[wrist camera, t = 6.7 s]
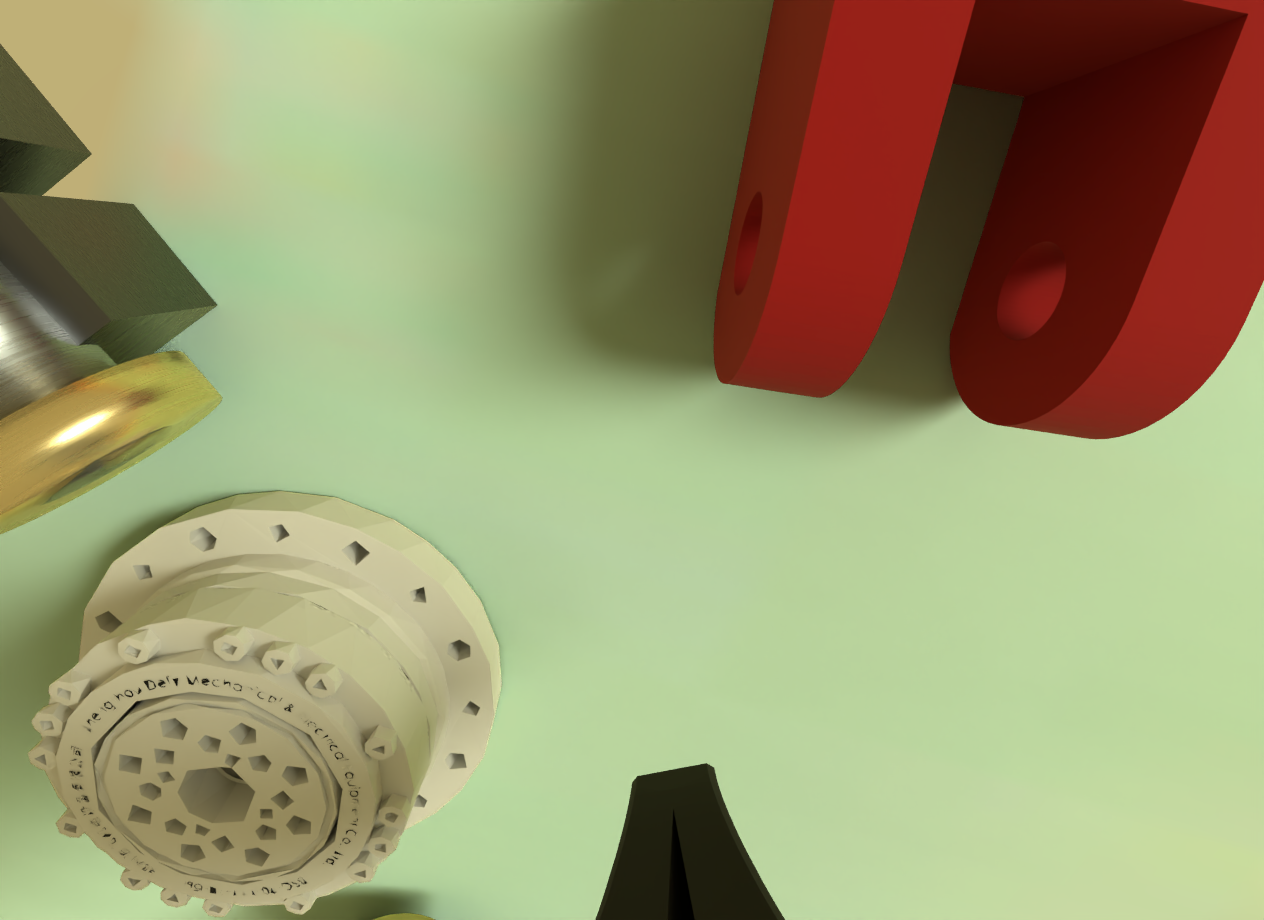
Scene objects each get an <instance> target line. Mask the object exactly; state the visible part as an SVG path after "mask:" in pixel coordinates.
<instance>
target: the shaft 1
mask: <svg viewBox="0 0 1264 920" xmlns="http://www.w3.org/2000/svg"><path fill="white" fill-rule="evenodd" d="M90 155H91V153H90V151H89V150H88V149H87V148H86V147H85V145H84V144H83V143H82V142H81V141H80V139H79V138H78V137H77V136H76V134H75V133H74V132H73V131H72V130H71V128H70V127H69V126H68V125H67V124H66V122H65V121H64V120H63V119H62V118H61V116H60V115H59V114H58V113H57V112H56V110H55V109H54V108H53V107H52V106H51V104H50V103H49V102H48V101H47V100H46V98H45V97H44V96H43V95H42V94H41V92H40V91H39V90H38V89H37V88H36V86H35V85H34V84H33V83H32V81H31V80H30V79H29V78H28V77H27V75H26V74H25V73H24V72H23V71H22V69H21V68H20V67H19V66H18V65H17V64H16V62H15V61H14V60H13V59H12V57H11V56H10V55H9V54H8V53H7V51H6V50H5V49H4V48H3V47H2V45H1V44H0V534H3V533H5V532H7V531H10V530H12V529H14V528H17V527H19V526H21V525H23V524H26V523H28V522H30V521H32V520H34V519H36V518H38V517H40V516H42V515H44V514H46V513H48V512H50V511H52V510H54V509H56V508H58V507H60V506H62V505H64V504H66V503H68V502H70V501H71V500H73V499H75V498H77V497H79V496H81V495H83V494H85V493H86V492H88V491H90V490H92V489H94V488H95V487H97V486H99V485H101V484H102V483H104V482H106V481H108V480H110V479H111V478H113V477H115V476H116V475H118V474H120V473H122V472H123V471H125V470H127V469H128V468H130V467H132V466H133V465H135V464H137V463H138V462H140V461H142V460H143V459H145V458H146V457H148V456H150V455H151V454H153V453H154V452H156V451H157V450H159V449H161V448H162V447H164V446H165V445H167V444H168V443H170V442H171V441H173V440H174V439H176V438H177V437H179V436H180V435H182V434H183V433H184V432H186V431H187V430H189V429H190V428H191V427H193V426H194V425H196V424H197V423H198V422H199V421H201V420H202V419H203V418H205V417H206V416H207V415H208V414H209V413H211V412H212V411H213V410H214V409H215V408H216V407H217V406H218V405H219V404H220V402H221V401H222V396H221V395H220V394H219V393H218V392H217V390H216V389H215V388H214V387H213V386H212V385H211V384H210V382H209V381H208V380H207V379H206V378H205V377H204V376H203V374H202V373H201V372H200V371H199V370H198V369H197V367H196V366H195V365H194V364H193V363H192V362H191V361H190V359H189V358H188V357H187V356H186V355H185V354H184V353H183V352H180V351H166V352H161V353H155V354H152V353H154V352H155V351H157V350H158V349H159V348H161V347H162V346H163V345H165V344H166V343H167V342H169V341H170V340H171V339H173V338H174V337H175V336H177V335H178V334H179V333H181V332H182V331H183V330H185V329H186V328H187V327H189V326H190V325H192V324H193V323H194V322H196V321H197V320H198V319H200V318H201V317H202V316H204V315H205V314H206V313H208V312H209V311H210V310H212V309H213V308H214V307H216V306H217V304H216V303H215V302H214V301H213V299H212V298H211V297H210V296H209V295H208V293H207V292H206V291H205V290H204V288H203V287H202V286H201V285H200V284H199V282H198V281H197V280H196V279H195V278H194V276H193V275H192V274H191V273H190V272H189V270H188V269H187V268H186V267H185V266H184V264H183V263H182V262H181V261H180V260H179V258H178V257H177V256H176V255H175V254H174V252H173V251H172V250H171V249H170V248H169V246H168V245H167V244H166V243H165V242H164V240H163V239H162V238H161V237H160V236H159V234H158V233H157V232H156V231H155V230H154V228H153V227H152V226H151V225H150V224H149V222H148V221H147V220H146V219H145V217H144V216H143V215H142V214H141V213H140V211H139V210H138V209H137V208H136V207H135V205H134V204H127V203H116V202H105V201H94V200H82V199H71V198H60V197H49V196H42V195H43V194H44V193H46V192H47V191H48V190H49V189H50V188H52V187H53V186H54V185H55V184H56V183H57V182H59V181H60V180H61V179H62V178H64V177H65V176H66V175H67V174H68V173H70V172H71V171H72V170H73V169H75V168H76V167H77V166H78V165H79V164H81V163H82V162H83V161H84V160H85V159H87V158H88V157H89V156H90Z"/></svg>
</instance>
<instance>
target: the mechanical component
mask: <svg viewBox="0 0 1264 920" xmlns="http://www.w3.org/2000/svg"><path fill="white" fill-rule="evenodd" d="M501 687H502V681H501V668H500V655H499V644H498V642H497V639H496V637H495V634H494V632H493V630H492V627H491V625H490V622H489V620H488V617H487V615H486V613H485V610H484V608H483V605H482V603H481V601H480V599H479V598H478V597H477V595H476V594H475V593H474V591H473V590H472V588H471V587H470V586H469V584H468V583H467V582H466V580H465V579H464V578H463V576H462V575H461V574H460V572H459V571H458V569H457V568H456V567H455V566H454V565H453V564H452V563H451V562H449V561H448V560H447V559H446V558H445V557H444V556H443V555H442V554H441V553H440V552H439V551H437V550H436V549H435V548H434V547H433V546H432V545H431V544H430V543H429V542H428V541H426V540H425V539H423V538H422V537H420V536H419V535H417V534H415V533H414V532H412V531H411V530H409V529H408V528H406V527H405V526H403V525H402V524H400V523H399V522H397V521H395V520H394V519H391V518H388V517H386V516H383V515H381V514H378V513H375V512H373V511H370V510H368V509H365V508H362V507H360V506H357V505H355V504H352V503H349V502H347V501H344V500H342V499H339V498H336V497H328V496H319V495H311V494H302V493H294V492H285V491H274V492H262V493H250V494H239V495H235V496H231V497H228V498H225V499H222V500H218V501H215V502H212V503H208V504H205V505H202V506H198V507H196V508H195V509H193V510H191V511H189V512H187V513H186V514H184V515H182V516H180V517H178V518H177V519H175V520H173V521H171V522H169V523H168V524H166V525H164V526H162V527H160V528H159V529H157V530H156V531H155V532H153V533H152V534H151V535H149V536H148V537H146V538H145V539H144V540H142V541H141V542H140V543H138V544H137V545H136V546H134V547H133V548H131V549H130V550H129V551H127V552H126V553H125V554H123V555H122V556H121V557H119V558H118V559H116V560H115V561H114V562H112V564H111V566H110V567H109V569H108V571H107V572H106V574H105V576H104V578H103V579H102V581H101V583H100V584H99V586H98V588H97V589H96V591H95V593H94V594H93V596H92V598H91V599H90V601H89V603H88V605H87V606H86V608H85V610H84V617H83V626H82V635H81V644H80V653H79V662H78V663H77V664H76V665H75V666H74V667H73V668H72V669H71V670H69V671H68V672H66V673H65V674H64V675H62V676H61V677H60V678H58V679H57V680H56V681H54V682H53V683H51V684H50V685H49V691H48V693H49V694H50V700H49V704H48V705H47V706H44V707H43V708H42V709H41V710H40V711H39V712H38V713H37V714H36V715H35V717H34V718H33V719H32V721H31V722H32V724H33V727H34V729H35V730H37V731H38V732H39V733H41V736H42V740H41V741H40V742H39V743H38V744H37V745H36V746H35V747H34V748H33V749H31V750H30V751H29V752H28V756H29V759H30V763H31V764H32V765H34V766H36V767H37V768H39V769H42V770H45V772H46V774H47V776H48V778H49V780H50V782H51V784H52V786H53V788H54V790H55V792H56V794H57V796H58V797H59V799H60V800H61V801H62V802H63V804H64V805H65V806H66V808H67V810H66V811H65V813H64V814H63V815H62V816H61V818H60V819H59V820H58V821H57V822H56V825H57V827H58V830H59V832H60V833H61V834H64V835H66V836H69V837H77V838H79V837H80V836H81V835H82V834H84V833H85V834H86V835H88V836H89V837H90V838H91V840H92V841H93V842H94V844H95V845H96V846H97V847H98V848H100V849H101V850H103V851H104V852H106V853H107V854H108V855H109V856H110V857H111V858H112V859H113V860H114V861H115V862H117V863H118V864H119V865H121V866H123V867H125V868H126V869H125V870H124V871H123V873H122V876H121V879H120V880H121V882H122V883H123V884H124V886H125V887H127V888H129V889H132V890H142V889H144V888H145V887H147V886H148V885H149V884H150V882H152V883H154V884H156V885H158V886H159V887H162V888H164V889H163V890H162V892H161V900H162V901H163V902H164V903H165V904H166V905H168V906H173V907H180V906H184V905H186V904H187V902H188V901H189V900H190V898H191V897H197V898H202V899H206V900H205V902H204V904H203V907H202V908H203V909H204V910H205V912H206V913H207V914H208V915H210V916H215V917H224V916H225V915H226V914H227V913H228V912H229V911H230V909H231V908H232V906H233V904H235V905H241V906H260V905H281V904H284V905H285V907H286V909H287V911H289V912H292V913H294V914H301V915H303V914H304V913H305V912H307V911H308V910H310V909H311V907H312V905H313V904H314V902H315V900H316V898H319V897H323V896H327V895H329V894H332V893H334V892H336V891H338V890H340V889H342V888H345V887H347V886H349V885H351V884H353V883H355V882H359V883H363V882H370V881H371V879H372V878H373V876H374V875H375V872H376V869H377V867H378V865H379V864H380V863H382V862H383V861H384V860H385V859H386V858H387V857H388V856H389V855H390V854H391V853H392V852H394V851H395V850H396V848H397V845H398V842H399V840H400V836H401V835H402V833H403V832H404V830H406V829H408V828H410V827H411V826H413V825H415V824H417V823H419V822H420V821H422V820H424V819H426V818H428V817H429V816H431V815H433V814H435V813H437V812H438V811H439V810H440V809H441V808H442V807H443V806H444V805H445V804H447V803H448V802H449V801H450V800H451V799H452V798H453V797H454V796H456V795H457V794H458V793H459V792H460V791H461V790H462V788H463V787H464V785H465V784H466V782H467V781H468V779H469V778H470V776H471V775H472V773H473V772H474V770H475V769H476V768H477V766H478V765H479V763H480V762H481V760H482V759H483V757H484V754H485V750H486V747H487V743H488V740H489V736H490V733H491V729H492V726H493V722H494V717H495V713H496V709H497V704H498V700H499V695H500V691H501Z"/></svg>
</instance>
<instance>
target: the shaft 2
mask: <svg viewBox="0 0 1264 920" xmlns="http://www.w3.org/2000/svg"><path fill="white" fill-rule="evenodd" d="M373 920H435V919H432V918H430V917H427V916H423V915H419V914H412V913H400V914H391V915H387V916H382V917H379V918H376V919H373Z"/></svg>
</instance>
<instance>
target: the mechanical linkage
mask: <svg viewBox="0 0 1264 920" xmlns="http://www.w3.org/2000/svg"><path fill="white" fill-rule="evenodd" d="M952 83H953V84H958V85H963V86H969V87H974V88H979V89H985V90H990V91H995V92H1000V93H1006V94H1011V95H1016V96H1022V97H1024V100H1023V103H1022V106H1021V110H1020V113H1019V116H1018V119H1017V122H1016V126H1015V129H1014V132H1013V135H1012V138H1011V142H1010V145H1009V148H1008V151H1007V155H1006V158H1005V161H1004V164H1003V167H1002V171H1001V174H1000V177H999V180H998V183H997V187H996V190H995V193H994V196H993V199H992V203H991V206H990V209H989V212H988V215H987V219H986V222H985V225H984V228H983V231H982V235H981V238H980V241H979V244H978V247H977V251H976V254H975V257H974V260H973V263H972V267H971V270H970V273H969V276H968V279H967V283H966V286H965V289H964V292H963V295H962V299H961V302H960V305H959V308H958V311H957V315H956V318H955V321H954V324H953V327H952V331H951V334H950V360H951V368H952V373H953V378H954V381H955V385H956V387H957V390H958V392H959V395H960V396H961V398H962V400H963V402H964V403H965V404H966V406H967V407H968V408H969V409H970V410H971V411H972V412H973V413H974V414H975V415H976V416H977V417H979V418H980V419H982V420H984V421H986V422H988V423H992V424H996V425H1001V426H1008V427H1015V428H1021V429H1028V430H1034V431H1041V432H1048V433H1054V434H1061V435H1067V436H1074V437H1081V438H1089V439H1109V438H1115V437H1120V436H1124V435H1127V434H1131V433H1134V432H1136V431H1138V430H1141V429H1143V428H1146V427H1148V426H1150V425H1151V424H1153V423H1155V422H1157V421H1159V420H1161V419H1162V418H1164V417H1165V416H1167V415H1168V414H1170V413H1171V412H1173V411H1174V410H1175V409H1176V408H1178V407H1179V406H1180V405H1181V404H1183V403H1184V402H1185V401H1186V400H1188V399H1189V398H1190V397H1191V396H1192V395H1193V394H1194V393H1195V392H1196V391H1197V390H1198V389H1199V388H1200V387H1201V386H1202V385H1203V384H1204V383H1205V382H1206V380H1207V379H1208V378H1209V377H1210V376H1211V375H1212V374H1213V372H1214V371H1215V370H1216V368H1217V367H1218V366H1219V364H1220V363H1221V362H1222V360H1223V359H1224V358H1225V356H1226V355H1227V353H1228V351H1229V350H1230V348H1231V347H1232V345H1233V343H1234V342H1235V340H1236V338H1237V336H1238V334H1239V332H1240V331H1241V329H1242V327H1243V325H1244V323H1245V321H1246V318H1247V316H1248V314H1249V312H1250V310H1251V307H1252V305H1253V303H1254V301H1255V299H1256V296H1257V294H1258V292H1259V290H1260V288H1261V285H1262V283H1263V281H1264V0H774V3H773V8H772V14H771V19H770V24H769V29H768V34H767V40H766V45H765V50H764V55H763V60H762V65H761V71H760V76H759V81H758V86H757V91H756V97H755V102H754V107H753V112H752V117H751V122H750V128H749V133H748V138H747V143H746V148H745V153H744V159H743V164H742V169H741V174H740V179H739V185H738V190H737V195H736V200H735V205H734V210H733V216H732V221H731V226H730V231H729V236H728V242H727V247H726V252H725V257H724V262H723V267H722V273H721V278H720V283H719V288H718V293H717V300H716V310H715V322H714V363H715V369H716V373H717V376H718V379H719V380H720V382H722V383H725V384H731V385H738V386H744V387H751V388H758V389H764V390H771V391H777V392H784V393H790V394H797V395H804V396H810V397H818V398H822V397H826V396H828V395H830V394H832V393H834V392H835V391H836V390H838V389H839V388H840V387H841V386H842V385H843V384H844V383H845V382H846V381H847V380H848V379H849V377H850V376H851V375H852V374H853V372H854V371H855V369H856V368H857V367H858V365H859V364H860V362H861V361H862V359H863V357H864V356H865V354H866V352H867V350H868V349H869V347H870V345H871V343H872V341H873V339H874V337H875V335H876V333H877V331H878V329H879V326H880V324H881V322H882V320H883V317H884V315H885V312H886V310H887V307H888V305H889V302H890V299H891V297H892V294H893V291H894V288H895V285H896V282H897V279H898V275H899V272H900V269H901V265H902V262H903V258H904V255H905V251H906V248H907V244H908V240H909V237H910V233H911V230H912V226H913V222H914V219H915V215H916V212H917V208H918V204H919V201H920V197H921V194H922V190H923V187H924V183H925V179H926V176H927V172H928V169H929V165H930V161H931V158H932V154H933V151H934V147H935V144H936V140H937V136H938V133H939V129H940V126H941V122H942V118H943V115H944V111H945V108H946V104H947V100H948V97H949V93H950V90H951V86H952Z"/></svg>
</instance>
